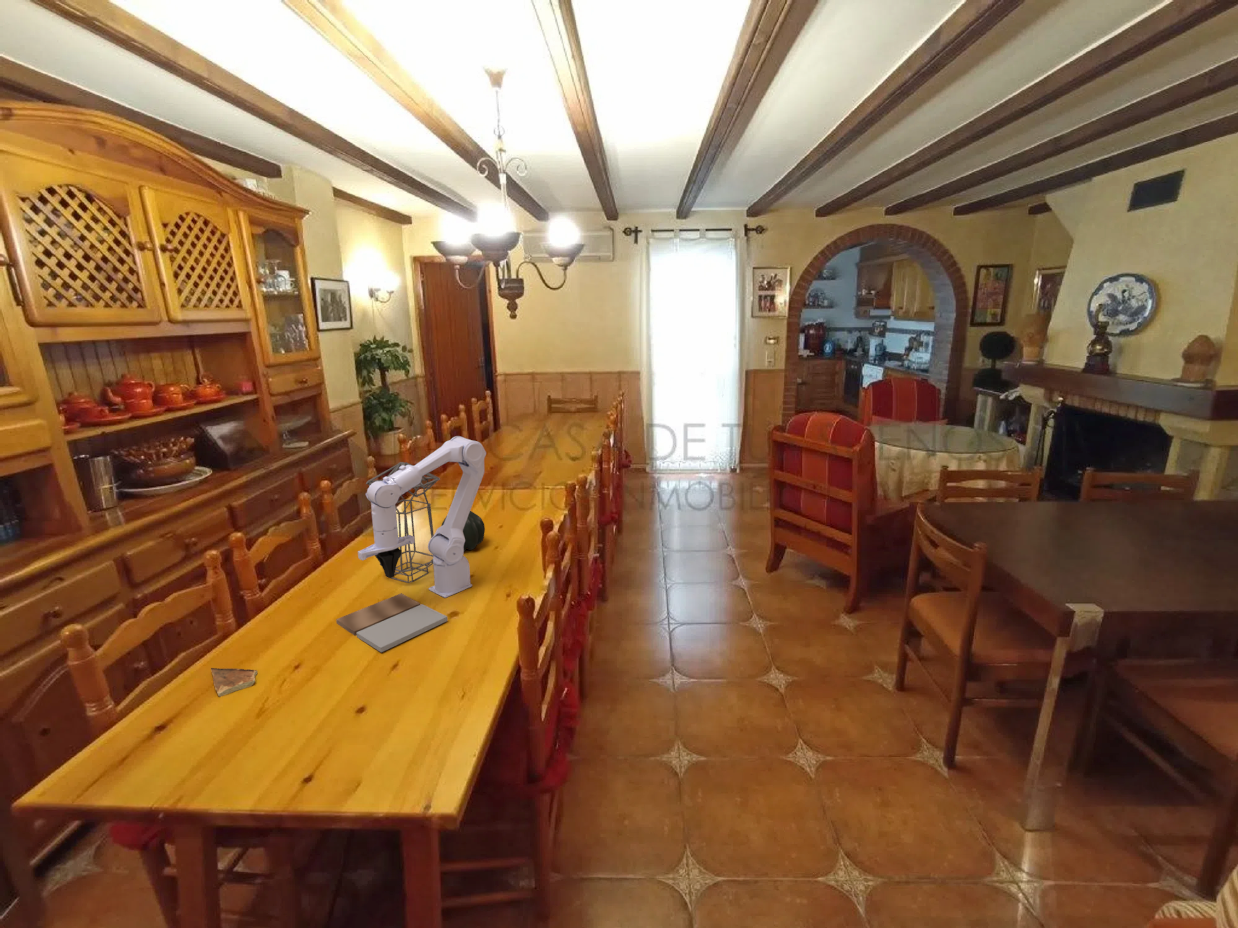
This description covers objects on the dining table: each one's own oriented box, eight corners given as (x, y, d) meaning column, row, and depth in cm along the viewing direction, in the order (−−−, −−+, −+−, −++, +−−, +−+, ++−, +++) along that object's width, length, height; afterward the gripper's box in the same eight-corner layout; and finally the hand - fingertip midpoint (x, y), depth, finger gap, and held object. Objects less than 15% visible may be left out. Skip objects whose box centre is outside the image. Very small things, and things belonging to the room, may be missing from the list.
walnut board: (401, 596, 154) (401, 593, 154) (420, 607, 149) (420, 603, 148) (336, 623, 140) (336, 619, 140) (354, 635, 135) (354, 631, 134)
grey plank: (422, 608, 148) (422, 603, 148) (447, 620, 141) (447, 616, 141) (356, 636, 134) (356, 632, 134) (381, 652, 127) (380, 647, 127)
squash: (498, 525, 194) (468, 493, 191) (484, 543, 179) (451, 509, 177) (470, 548, 197) (441, 517, 195) (454, 567, 183) (422, 534, 181)
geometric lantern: (370, 579, 164) (360, 464, 156) (412, 561, 178) (404, 454, 170) (408, 591, 157) (399, 471, 149) (449, 571, 170) (442, 460, 163)
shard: (211, 674, 120) (210, 666, 120) (253, 661, 125) (252, 654, 125) (217, 700, 112) (215, 692, 112) (261, 685, 117) (260, 677, 117)
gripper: (402, 516, 150) (406, 563, 153) (349, 531, 139) (355, 581, 142) (417, 522, 146) (421, 570, 149) (364, 538, 134) (369, 589, 138)
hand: (389, 576), depth 145 cm, fingers closed
